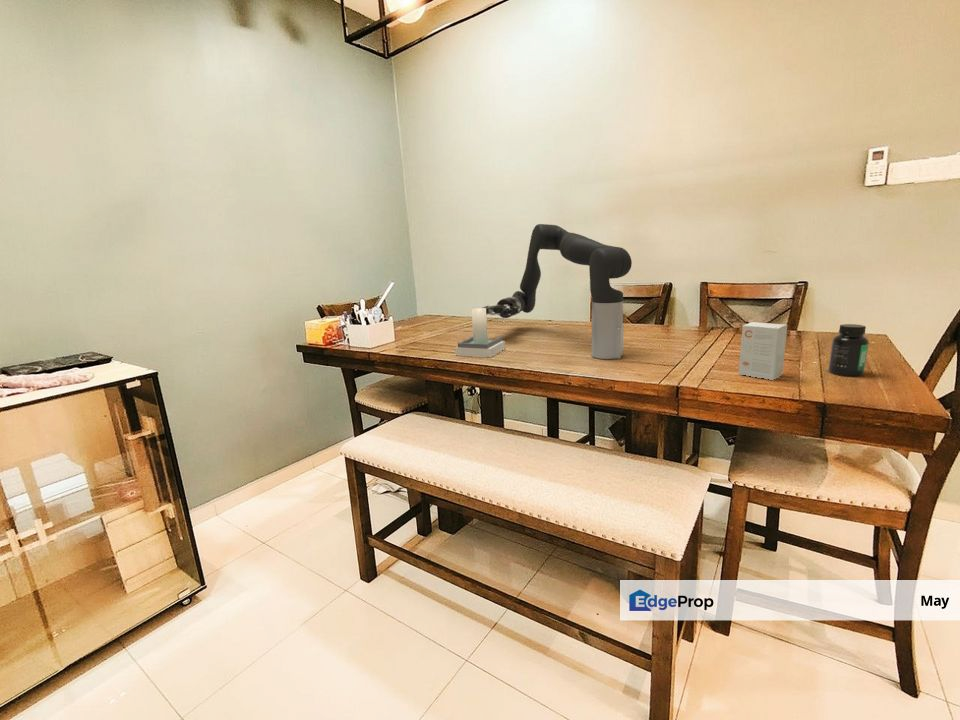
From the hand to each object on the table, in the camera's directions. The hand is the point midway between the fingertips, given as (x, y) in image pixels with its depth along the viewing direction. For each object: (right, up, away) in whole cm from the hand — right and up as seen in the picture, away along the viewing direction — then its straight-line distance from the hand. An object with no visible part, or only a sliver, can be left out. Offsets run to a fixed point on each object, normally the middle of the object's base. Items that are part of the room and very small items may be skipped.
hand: (492, 313), depth 161 cm
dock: (-4, -15, -7) cm, 17 cm away
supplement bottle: (+87, -21, -51) cm, 103 cm away
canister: (-4, -11, -8) cm, 15 cm away
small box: (+66, -21, -49) cm, 85 cm away
